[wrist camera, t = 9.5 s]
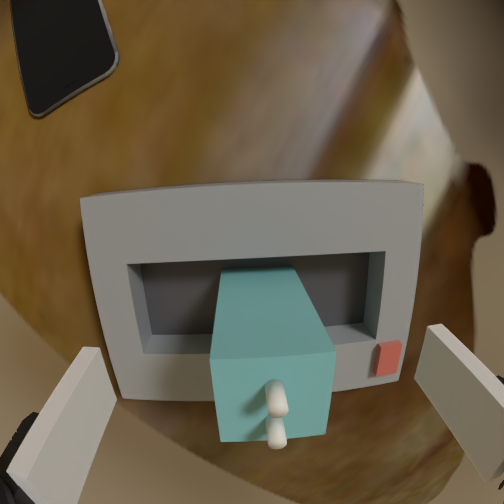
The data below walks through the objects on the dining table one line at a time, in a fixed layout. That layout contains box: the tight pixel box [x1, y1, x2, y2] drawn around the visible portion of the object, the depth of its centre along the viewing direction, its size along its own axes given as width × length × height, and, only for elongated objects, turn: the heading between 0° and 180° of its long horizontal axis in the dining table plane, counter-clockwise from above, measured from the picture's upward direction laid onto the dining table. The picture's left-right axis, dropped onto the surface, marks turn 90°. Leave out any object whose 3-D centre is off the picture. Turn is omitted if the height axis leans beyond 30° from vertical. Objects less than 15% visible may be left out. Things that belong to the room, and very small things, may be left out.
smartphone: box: [10, 0, 120, 117], centre depth 15 cm, size 8×1×15 cm
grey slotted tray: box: [80, 179, 424, 401], centre depth 20 cm, size 14×20×3 cm
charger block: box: [210, 266, 337, 449], centre depth 16 cm, size 4×4×11 cm
